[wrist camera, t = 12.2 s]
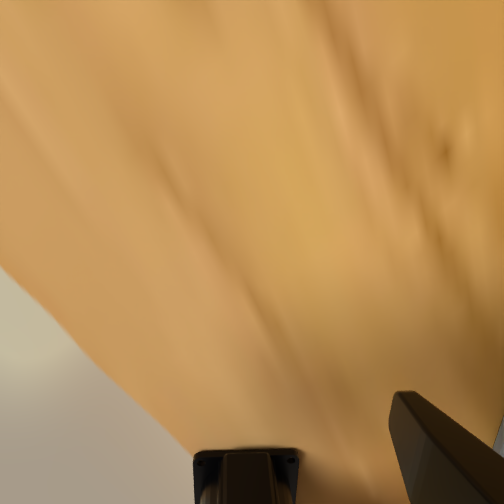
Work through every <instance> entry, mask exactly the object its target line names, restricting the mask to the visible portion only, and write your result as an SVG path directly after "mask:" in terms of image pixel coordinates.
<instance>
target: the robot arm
mask: <svg viewBox="0 0 504 504" xmlns="http://www.w3.org/2000/svg"><path fill="white" fill-rule="evenodd" d="M389 430H390V434H391V438H392V441H393V445H394V448H395V452H396V455H397V459H398V462H399V466H400V469H401V473H402V476H403V480H404V483H405V487H406V490H407V494H408V497H409V500H410V503H411V504H504V457H502V456H501V455H500V454H498V453H497V452H496V451H494V450H493V449H492V448H490V447H489V446H488V445H486V444H485V443H484V442H482V441H481V440H480V439H478V438H477V437H476V436H474V435H473V434H471V433H470V432H469V431H467V430H466V429H465V428H463V427H462V426H461V425H459V424H458V423H457V422H455V421H454V420H453V419H451V418H450V417H449V416H447V415H446V414H445V413H443V412H442V411H441V410H439V409H438V408H437V407H435V406H434V405H433V404H431V403H430V402H429V401H427V400H426V399H425V398H423V397H422V396H421V395H419V394H418V393H417V392H415V391H397V392H395V394H394V396H393V400H392V405H391V410H390V415H389ZM200 460H202V461H200ZM298 468H299V456H298V452H297V451H296V450H293V449H283V450H249V451H214V452H198V453H196V454H195V455H194V458H193V476H194V497H195V504H295V500H296V490H297V479H298Z"/></svg>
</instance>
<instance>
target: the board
mask: <svg viewBox="0 0 504 504" xmlns="http://www.w3.org/2000/svg"><path fill="white" fill-rule="evenodd" d="M493 450H494V451H496V452H497V453H498V454H500V455H501V456H502V457H504V417H503V420H502V423H501V426H500V429H499V432H498V435H497V438H496V440H495V443H494V446H493Z"/></svg>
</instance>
